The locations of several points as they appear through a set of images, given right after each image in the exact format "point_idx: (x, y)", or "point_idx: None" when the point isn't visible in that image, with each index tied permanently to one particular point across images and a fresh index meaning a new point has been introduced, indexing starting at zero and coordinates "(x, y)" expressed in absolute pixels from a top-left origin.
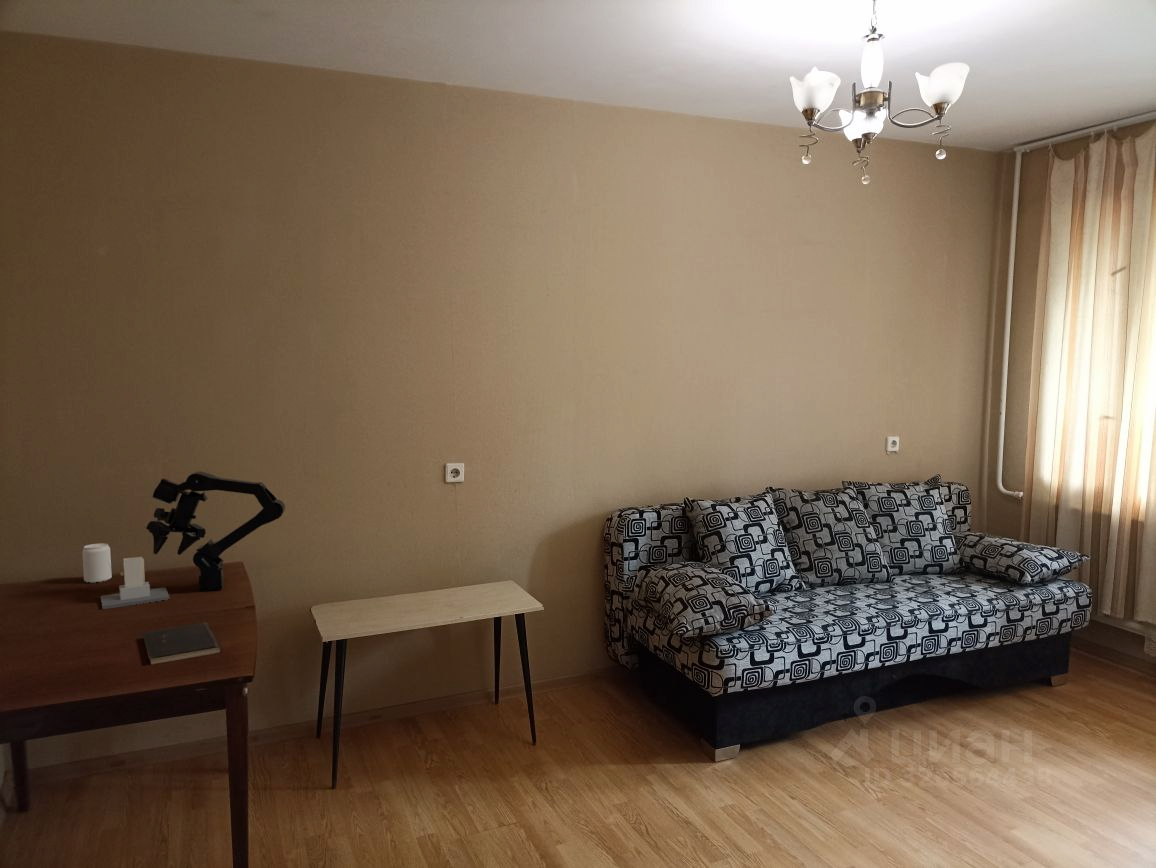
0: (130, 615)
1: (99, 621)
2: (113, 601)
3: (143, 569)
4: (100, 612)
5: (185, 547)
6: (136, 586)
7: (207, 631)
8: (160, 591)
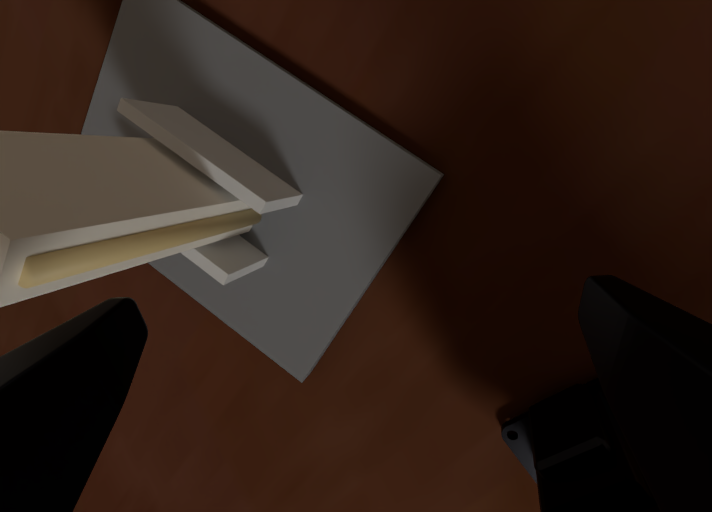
0: None
1: (16, 336)
2: None
3: (129, 258)
4: None
5: (663, 506)
6: None
7: None
8: (353, 239)
